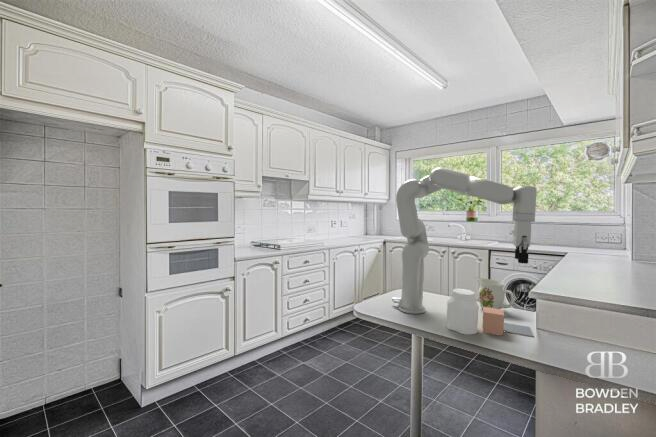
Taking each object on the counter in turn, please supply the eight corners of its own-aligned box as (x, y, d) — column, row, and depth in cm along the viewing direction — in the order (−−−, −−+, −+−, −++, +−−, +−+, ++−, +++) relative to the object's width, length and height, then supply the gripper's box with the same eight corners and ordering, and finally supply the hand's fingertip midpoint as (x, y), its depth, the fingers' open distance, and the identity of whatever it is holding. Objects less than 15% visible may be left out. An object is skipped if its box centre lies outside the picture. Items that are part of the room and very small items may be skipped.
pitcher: (508, 318, 139) (510, 287, 138) (467, 307, 152) (469, 279, 152) (517, 313, 146) (519, 284, 145) (478, 303, 160) (479, 276, 159)
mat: (503, 331, 124) (503, 330, 124) (501, 323, 133) (501, 322, 133) (533, 337, 120) (533, 336, 120) (529, 327, 129) (529, 326, 129)
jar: (441, 326, 128) (443, 290, 127) (453, 321, 134) (455, 286, 133) (469, 336, 119) (472, 297, 118) (481, 330, 125) (483, 293, 124)
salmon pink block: (482, 332, 124) (483, 312, 123) (482, 325, 130) (483, 306, 129) (502, 335, 121) (504, 315, 120) (501, 329, 127) (502, 309, 126)
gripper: (510, 216, 134) (507, 256, 135) (515, 218, 118) (512, 263, 119) (531, 217, 131) (528, 258, 132) (539, 219, 115) (536, 265, 116)
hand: (521, 261), depth 126 cm, fingers open, 9 cm apart
